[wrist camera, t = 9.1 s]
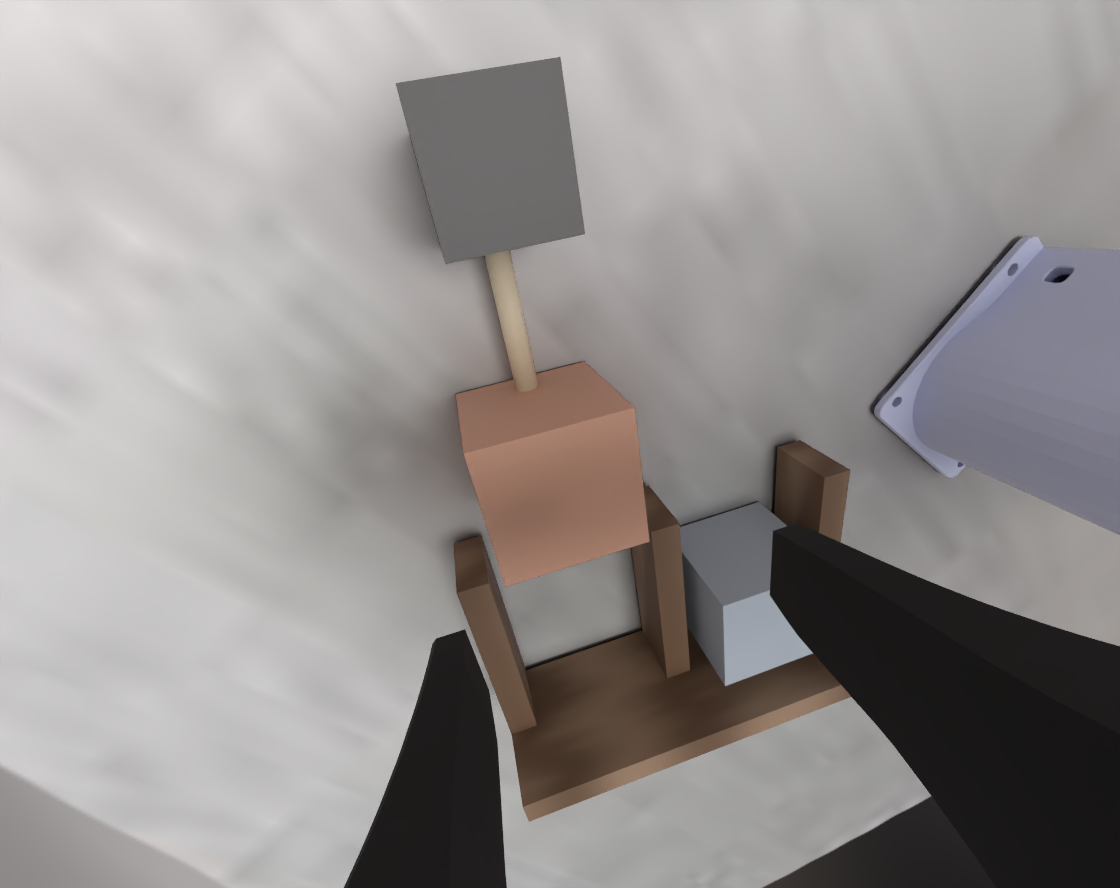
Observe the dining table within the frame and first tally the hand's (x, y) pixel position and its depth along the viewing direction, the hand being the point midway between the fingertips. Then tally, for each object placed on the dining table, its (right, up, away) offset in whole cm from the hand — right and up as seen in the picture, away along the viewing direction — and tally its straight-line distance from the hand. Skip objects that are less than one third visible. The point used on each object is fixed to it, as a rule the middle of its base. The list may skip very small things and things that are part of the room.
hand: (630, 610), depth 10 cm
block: (+6, -2, +14) cm, 15 cm away
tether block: (-3, +7, +6) cm, 10 cm away
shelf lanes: (+3, -2, +12) cm, 13 cm away
